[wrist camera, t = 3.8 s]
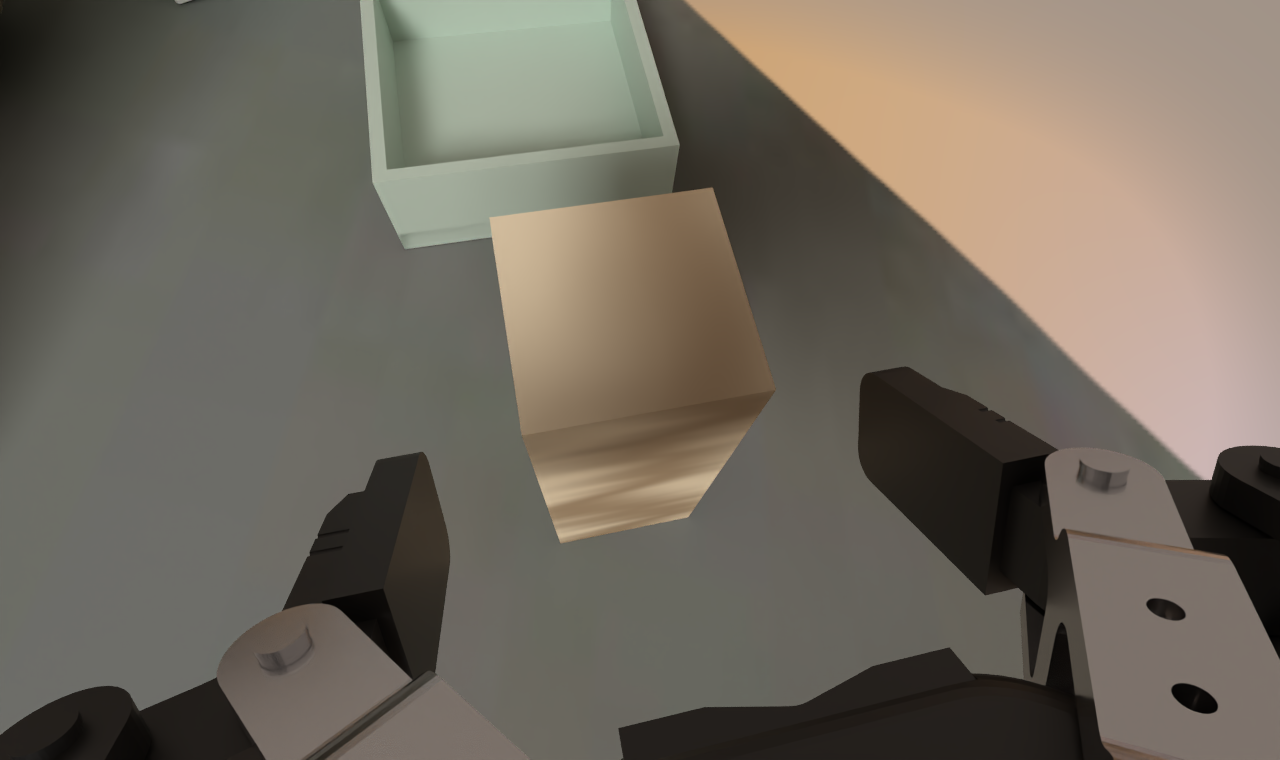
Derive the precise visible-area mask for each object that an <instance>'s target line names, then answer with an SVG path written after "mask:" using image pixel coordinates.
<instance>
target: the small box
mask: <svg viewBox="0 0 1280 760" xmlns="http://www.w3.org/2000/svg"><path fill="white" fill-rule="evenodd" d="M174 1H175V2H176V3H178V4H182V3H185V2H189V1H192V0H174Z"/></svg>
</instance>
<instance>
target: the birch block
mask: <svg viewBox="0 0 1280 760" xmlns="http://www.w3.org/2000/svg"><path fill="white" fill-rule="evenodd" d="M489 219H490V226H491V232H492V239H493V246H494V252H495V259H496V266H497V272H498V279H499V286H500V292H501V299H502V306H503V312H504V319H505V326H506V332H507V339H508V346H509V352H510V359H511V366H512V372H513V379H514V386H515V392H516V399H517V406H518V413H519V419H520V426H521V433H522V437H523V440H524V443H525V446H526V448H527V451H528V454H529V457H530V460H531V462H532V465H533V468H534V471H535V473H536V476H537V479H538V482H539V485H540V487H541V490H542V493H543V496H544V499H545V501H546V504H547V507H548V510H549V513H550V515H551V518H552V521H553V524H554V527H555V529H556V532H557V535H558V538H559V541H560V543H565V542H570V541H574V540H579V539H584V538H589V537H594V536H599V535H604V534H609V533H613V532H618V531H623V530H628V529H633V528H638V527H643V526H647V525H652V524H657V523H662V522H667V521H672V520H677V519H681V518H686V517H689V515H690V514H691V512H692V511H693V509H694V508H695V506H696V505H697V504H698V502H699V501H700V499H701V498H702V496H703V495H704V493H705V492H706V491H707V489H708V488H709V486H710V485H711V483H712V482H713V480H714V479H715V477H716V476H717V475H718V473H719V472H720V470H721V469H722V467H723V466H724V464H725V463H726V462H727V460H728V459H729V457H730V456H731V454H732V453H733V451H734V450H735V448H736V447H737V446H738V444H739V443H740V441H741V440H742V438H743V437H744V435H745V434H746V433H747V431H748V430H749V428H750V427H751V425H752V424H753V422H754V421H755V419H756V418H757V417H758V415H759V414H760V412H761V411H762V409H763V408H764V406H765V405H766V404H767V402H768V401H769V399H770V398H771V396H772V395H773V393H774V392H775V390H776V388H775V385H774V382H773V378H772V375H771V372H770V369H769V366H768V362H767V359H766V356H765V353H764V350H763V347H762V343H761V340H760V337H759V334H758V331H757V327H756V324H755V321H754V318H753V315H752V311H751V308H750V305H749V302H748V299H747V296H746V292H745V289H744V286H743V283H742V280H741V276H740V273H739V270H738V267H737V264H736V260H735V257H734V254H733V251H732V248H731V245H730V241H729V238H728V235H727V232H726V229H725V225H724V222H723V219H722V216H721V213H720V209H719V206H718V203H717V200H716V197H715V194H714V190H713V188H706V189H698V190H691V191H683V192H676V193H668V194H661V195H653V196H646V197H638V198H631V199H623V200H616V201H609V202H601V203H594V204H586V205H579V206H571V207H564V208H556V209H549V210H541V211H534V212H527V213H519V214H512V215H504V216H497V217H489Z"/></svg>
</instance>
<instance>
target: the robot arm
mask: <svg viewBox="0 0 1280 760" xmlns="http://www.w3.org/2000/svg"><path fill="white" fill-rule="evenodd" d="M858 452H859V459H860V462H861V466H862V468H863V471H864V473H865V474H866V476H867V478H868V479H869V480H870V481H871V482H872V483H873V484H874V485H875V486H876V487H877V488H878V489H879V490H880V491H881V492H882V493H883V494H884V495H885V496H886V497H887V498H888V499H889V500H890V501H891V502H892V503H893V504H894V505H895V506H896V507H897V508H898V509H899V510H900V511H901V512H902V513H903V514H904V515H905V516H906V517H907V518H908V519H909V520H910V521H911V522H912V523H913V524H914V525H915V526H916V527H917V528H918V529H919V530H920V531H921V532H922V533H923V534H924V535H925V536H926V537H927V538H928V539H929V540H930V541H931V542H932V543H933V544H934V545H935V546H936V547H937V548H938V549H939V550H940V551H941V552H942V553H943V554H944V555H945V556H946V557H947V558H948V559H949V560H950V561H951V562H952V563H953V564H954V565H955V566H956V567H957V568H958V569H959V570H960V571H961V572H962V573H963V574H964V575H965V576H966V577H967V578H968V579H969V580H970V581H971V582H972V583H973V584H974V585H975V586H976V587H977V588H978V589H979V590H980V591H981V592H982V593H983V594H984V595H989V594H993V593H997V592H1002V591H1006V590H1010V589H1014V588H1019V589H1020V590H1021V591H1023V597H1022V603H1021V610H1020V617H1021V637H1022V656H1023V675H1024V680H1022V679H1017V678H1012V677H1006V676H1000V675H989V674H971V673H970V671H969V670H968V669H967V668H966V667H965V665H964V664H963V663H962V662H961V661H960V659H959V658H958V657H957V656H956V655H955V653H954V652H953V651H952V650H951V649H950V647H949V648H945V649H941V650H937V651H933V652H929V653H925V654H921V655H917V656H913V657H908V658H904V659H900V660H896V661H892V662H888V663H884V664H880V665H876V666H872V667H870V668H868V669H867V670H865V671H863V672H861V673H859V674H858V675H856V676H854V677H852V678H850V679H848V680H847V681H845V682H843V683H841V684H839V685H838V686H836V687H834V688H832V689H830V690H828V691H827V692H825V693H823V694H821V695H819V696H818V697H816V698H814V699H812V700H810V701H808V702H806V703H804V704H801V705H797V706H781V707H704V708H700V709H696V710H691V711H687V712H683V713H679V714H675V715H671V716H667V717H663V718H659V719H655V720H651V721H646V722H642V723H638V724H634V725H630V726H626V727H622V728H618V729H619V735H620V741H621V747H622V753H623V759H621V760H1280V448H1276V447H1267V446H1239V447H1233V448H1229V449H1227V450H1224V451H1223V452H1221V453H1220V454H1219V457H1218V459H1217V463H1216V467H1215V470H1214V473H1213V477H1212V480H1165V479H1164V478H1163V476H1162V475H1161V474H1160V473H1159V472H1158V471H1157V470H1156V469H1154V468H1153V467H1152V466H1150V465H1148V464H1146V463H1145V462H1143V461H1141V460H1138V459H1136V458H1133V457H1131V456H1128V455H1125V454H1121V453H1118V452H1114V451H1109V450H1103V449H1097V448H1068V449H1062V450H1058V449H1056V448H1054V447H1052V446H1051V445H1049V444H1047V443H1046V442H1044V441H1042V440H1041V439H1039V438H1037V437H1036V436H1034V435H1032V434H1031V433H1029V432H1027V431H1026V430H1024V429H1022V428H1021V427H1019V426H1017V425H1016V424H1014V423H1012V422H1011V421H1005V418H1004V417H1002V416H1001V415H999V414H997V413H996V412H994V411H992V410H990V411H988V408H987V407H986V406H984V405H982V404H981V403H979V402H977V401H976V400H974V399H972V398H971V397H969V396H967V395H965V394H961V393H958V392H955V391H952V390H949V389H946V388H942V387H940V386H939V385H937V384H936V383H934V382H932V381H931V380H929V379H927V378H926V377H924V376H922V375H921V374H919V373H918V372H916V371H914V370H913V369H911V368H909V367H899V368H893V369H888V370H882V371H877V372H871V373H867V374H865V375H864V377H863V378H862V381H861V385H860V407H859V437H858ZM449 566H450V548H449V539H448V533H447V529H446V525H445V521H444V517H443V513H442V510H441V506H440V502H439V499H438V495H437V491H436V488H435V484H434V480H433V476H432V473H431V469H430V466H429V462H428V460H427V457H426V455H425V454H424V453H423V452H419V453H413V454H408V455H402V456H396V457H391V458H385V459H380V460H377V461H376V463H375V466H374V468H373V471H372V473H371V476H370V478H369V481H368V484H367V486H366V489H365V491H362V492H357V493H352V494H348V495H347V496H346V497H345V498H344V499H343V500H342V501H341V502H340V503H338V504H337V505H336V506H335V507H334V508H333V509H332V510H331V511H330V512H329V513H328V514H327V516H326V518H325V520H324V522H323V524H322V526H321V528H320V531H319V533H318V539H315V541H314V544H313V546H312V548H311V550H310V556H308V557H307V559H306V561H305V563H304V565H303V567H302V569H301V571H300V574H299V576H298V578H297V580H296V582H295V584H294V587H293V589H292V591H291V593H290V595H289V597H288V599H287V602H286V604H285V606H284V608H283V610H282V611H281V612H279V613H276V614H274V615H272V616H270V617H268V618H266V619H264V620H262V621H261V622H259V623H258V624H256V625H254V626H253V627H252V628H250V629H249V630H248V631H246V632H245V633H244V634H242V635H241V636H240V637H239V638H238V639H237V640H236V641H235V642H234V643H233V644H232V645H231V646H230V647H229V649H228V650H227V651H226V653H225V654H224V656H223V657H222V659H221V661H220V663H219V666H218V670H217V677H216V678H215V679H213V680H211V681H208V682H206V683H204V684H202V685H200V686H198V687H195V688H193V689H190V690H188V691H186V692H183V693H181V694H179V695H176V696H174V697H172V698H169V699H167V700H165V701H162V702H160V703H158V704H155V705H153V706H151V707H148V708H146V709H144V710H141V711H139V710H138V708H137V706H136V705H135V703H134V701H133V700H132V698H131V696H130V694H129V693H128V692H127V691H126V690H124V689H122V688H119V687H114V686H101V687H94V688H89V689H85V690H82V691H78V692H75V693H72V694H70V695H67V696H65V697H62V698H60V699H58V700H55V701H53V702H51V703H49V704H47V705H45V706H43V707H42V708H40V709H38V710H36V711H34V712H33V713H31V714H29V715H28V716H26V717H25V718H23V719H22V720H20V721H19V722H17V723H16V724H14V725H13V726H12V727H10V728H9V729H7V730H6V731H5V732H4V733H3V734H1V735H0V760H531V759H530V758H529V757H527V756H526V755H525V754H524V753H523V752H522V751H521V750H520V749H519V748H518V747H516V746H515V745H514V744H513V743H512V742H511V741H510V740H509V739H508V738H507V737H506V736H504V735H503V734H502V733H501V732H500V731H499V730H498V729H497V728H496V727H495V726H493V725H492V724H491V723H490V722H489V721H488V720H487V719H486V718H485V717H484V716H483V715H481V714H480V713H479V712H478V711H477V710H476V709H475V708H474V707H473V706H472V705H470V704H469V703H468V702H467V701H466V700H465V699H464V698H463V697H462V696H461V695H460V694H458V693H457V692H456V691H455V690H454V689H453V688H452V687H451V686H450V685H449V684H447V683H446V682H445V681H444V680H443V679H442V678H441V677H440V676H438V675H437V674H435V669H436V662H437V654H438V647H439V640H440V632H441V625H442V617H443V610H444V603H445V595H446V588H447V580H448V573H449Z"/></svg>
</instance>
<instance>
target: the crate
mask: <svg viewBox="0 0 1280 760" xmlns="http://www.w3.org/2000/svg"><path fill="white" fill-rule="evenodd" d="M360 6H361V21H362V35H363V50H364V64H365V79H366V93H367V108H368V122H369V136H370V151H371V165H372V180H373V185H374V187H375V189H376V191H377V193H378V195H379V197H380V199H381V201H382V203H383V205H384V207H385V209H386V211H387V213H388V216H389V218H390V220H391V222H392V224H393V226H394V228H395V230H396V232H397V234H398V236H399V238H400V240H401V242H402V244H403V247H404V249H410V248H417V247H424V246H432V245H439V244H446V243H453V242H461V241H468V240H475V239H482V238H490V237H492V232H491V226H490V219H489V217H497V216H504V215H512V214H519V213H527V212H534V211H541V210H549V209H556V208H564V207H571V206H579V205H586V204H594V203H601V202H609V201H616V200H623V199H631V198H638V197H646V196H653V195H661V194H668V193H672V190H673V183H674V177H675V171H676V165H677V159H678V153H679V146H680V144H679V141H678V137H677V134H676V131H675V127H674V124H673V121H672V117H671V114H670V111H669V107H668V104H667V101H666V97H665V94H664V91H663V87H662V84H661V81H660V77H659V74H658V71H657V67H656V64H655V61H654V57H653V54H652V51H651V47H650V44H649V41H648V37H647V34H646V31H645V27H644V24H643V21H642V17H641V14H640V11H639V7H638V4H637V0H360Z"/></svg>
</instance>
